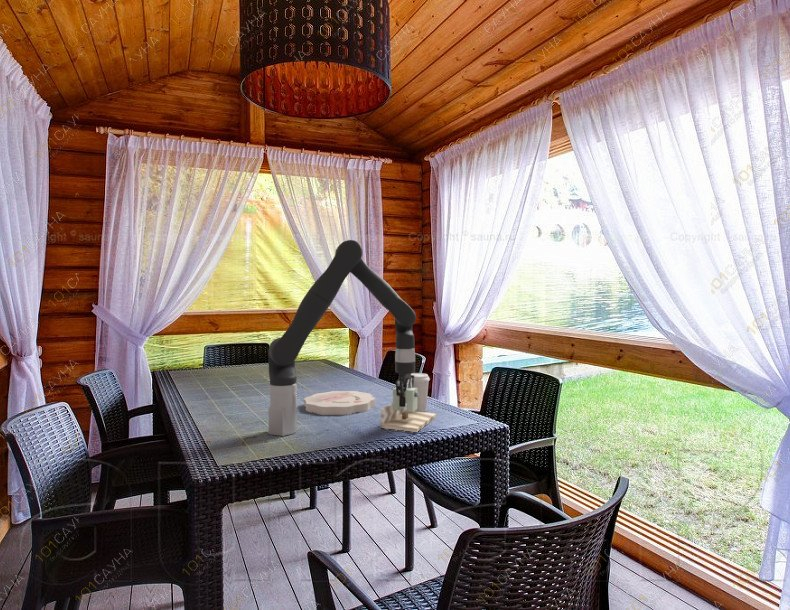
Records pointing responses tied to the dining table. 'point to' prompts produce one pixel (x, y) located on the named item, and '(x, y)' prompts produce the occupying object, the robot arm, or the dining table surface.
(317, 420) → the dining table surface
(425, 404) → the coffee cup
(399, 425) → the cleat board
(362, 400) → the decorative plaque
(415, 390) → the block
